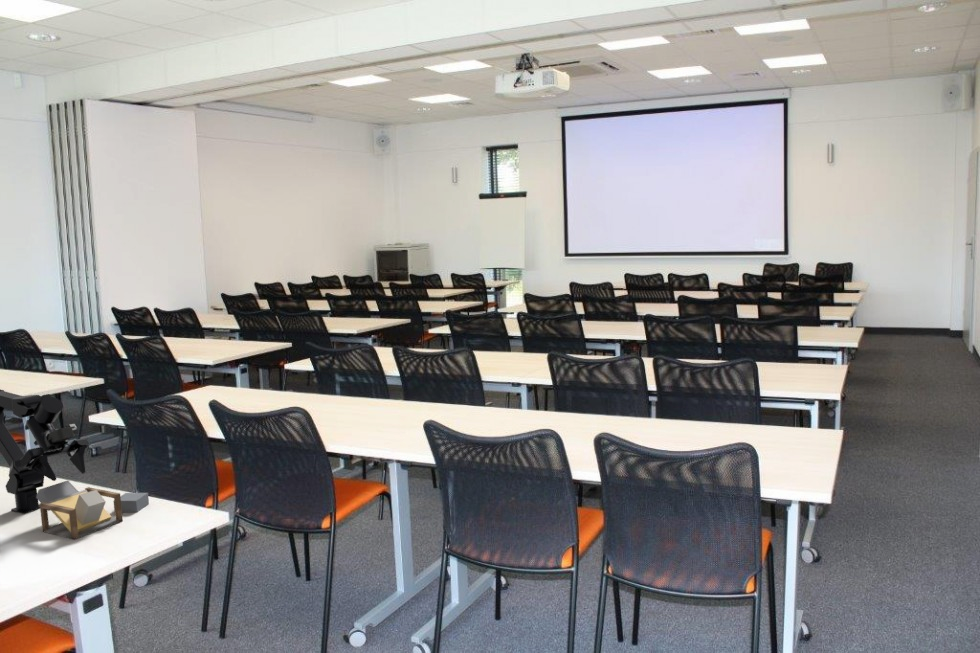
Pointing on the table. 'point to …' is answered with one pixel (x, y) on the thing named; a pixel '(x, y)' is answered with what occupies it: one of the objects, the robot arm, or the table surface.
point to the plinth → (133, 502)
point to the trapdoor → (67, 503)
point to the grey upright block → (89, 507)
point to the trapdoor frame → (74, 533)
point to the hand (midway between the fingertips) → (69, 476)
